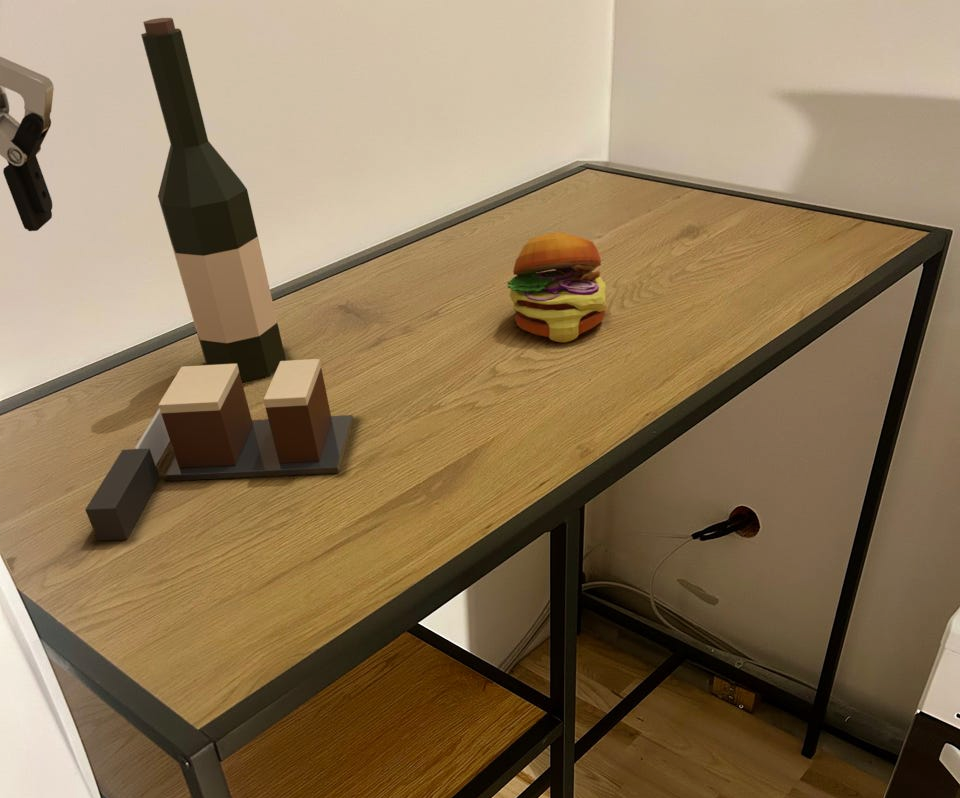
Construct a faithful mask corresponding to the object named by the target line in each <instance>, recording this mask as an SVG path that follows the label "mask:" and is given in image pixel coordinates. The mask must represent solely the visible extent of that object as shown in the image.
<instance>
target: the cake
mask: <svg viewBox="0 0 960 798" xmlns="http://www.w3.org/2000/svg"><path fill="white" fill-rule="evenodd" d="M245 392H246V391H245V389H244V385H243V382H242V381H241V377H240V373H239V369H238V365H237V364H220V365H206V364H205V365H203V364H202V365H188V366H187V365H186V366H184V365H183V366H180V368H179V370H178V372H177V374H175V376H174V379H173V380H172V382H171V383H170V384H169V386H168V388H167V390H166V391H165V393H164V395H163V396H162V398H161V400H160V401H159V403H158V405H157V406H158V409H160V412H161V413H162V418H163V421H164V424H165V427H166V430H167V433H168V436H169V439H170V442H169V443H170V445H171V448H172V450H173V453H174V457H176V460H177V463H178V466H179V468H191V467H212V466H233V465H236V463H237V461H238V458H239V456H240V454H241V451H242V449H243V447H244V445H245V442H246V440H247V438H248V436H249V433H250V431H251V429H252V426H253V423H252V420H253V419H252V415H251V412H250V408H249V404H248V400H247V396H246V393H245Z"/></svg>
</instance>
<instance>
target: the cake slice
mask: <svg viewBox="0 0 960 798" xmlns="http://www.w3.org/2000/svg"><path fill="white" fill-rule="evenodd" d="M263 402H264V407H265V411H266V415H267V419H268V420H269V424H270V428H271V432H272V436H273V440H274V444H275V448H276V452H277V456H278V460H279V463H295V462H315V461H320V458H321V454H322V451H323V448H324V445H325V442H326V438H327V435H328V432H329V429H330V426H331V422H332V418H331V416H332V413H331V408H330V403H329V399H328V394H327V389H326V384H325V379H324V373H323V369H322V363H321V360H320V358H312V359H311V358H309V359H308V358H307V359H293V360H286V361H280V363H279V365H278V367H277V370H276V371H274V375H273V376H272V379H271V381H270V384H269V386H268V388H267V391H266V393H265V395H264V398H263Z"/></svg>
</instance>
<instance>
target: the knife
mask: <svg viewBox="0 0 960 798" xmlns="http://www.w3.org/2000/svg"><path fill="white" fill-rule="evenodd" d="M170 443H171V442H170V439H169V436H168V433H167V430H166V427H165V424H164V421H163V418H162V413H161V412H160V409H159V408H158V409H157V411H156V413H155V414H154V416H153V417H152V419H151V421H150V422H149V424H148V426H147V427H146V429H145V430H144V432H143V434H142V436H141V437H140V439H139V440H138V442H137V444H136V445H135V447H134V448H132V449H131V448H130V449H122V450H121V451H120V452H119V455H118V456H117V457H116V459H115V461H114V462H113V464H112V466H111V467H110V469H109V471H108V472H107V474H106V476H105V477H104V479H103V481H102V482H101V483H100V485H99V487H98V488H97V490H96V491H95V493H94V494H93V496H92V497H91V500H90V501H89V503H88V504H87V505H86V507H85V509H84V510H85V513H86V515H87V518H88V520H89V522H90V525H91V527H92V528H93V532H94V535H95V536H96V538H97V539H96V540H97V541H99V542H101V541H103V542H104V541H106V542H107V541H124V540H125V541H126V540H128V538H129V537H130V535H131V533H132V531H133V529H134V528H135V526H136V524H137V522H138V520H139V519H140V517H141V514H142V513H143V511H144V509H145V507H146V506H147V504H148V502H149V500H150V498H151V496H152V494H153V493H154V490H155V489H156V487H157V486H158V483H159V481H160V480H161V477H160V474H159V472H158V469H157V465H158V463H159V461H160V460H161V458H162V456H163V454H164V453H165V451H166V449H167V447H168V446H169V444H170Z"/></svg>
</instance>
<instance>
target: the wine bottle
mask: <svg viewBox="0 0 960 798" xmlns="http://www.w3.org/2000/svg"><path fill="white" fill-rule="evenodd" d="M142 23H143V27H144V30H145V32H144V33H141V34H140V36H141V39H142V43H143V47H144V51H145V54H146V55H145V56H146V59H147V61H148V67H149V69H150V73H151V76H152V80H153V84H154V88H155V91H156V94H157V95H156V96H157V99H158V102H159V107H160V110H161V113H162V118H163V121H164V125H165V129H166V133H167V137H168V140H169V143H170V146H169V148H168V149H169V150H168V153H167V158H166V162H165V166H164V170H163V173H162V176H161V177H162V178H161V182H160V186H159V190H158V194H157V199H158V202H159V204H160V206H159V207H160V209H161V213H162V216H163V220H164V223H165V226H166V229H167V234H168V237H169V241H170V244H171V247H172V250H173V255H174V256H175V261H176V264H177V268H178V272H179V276H180V278H181V282H182V286H183V289H184V293H185V296H186V300H187V303H188V306H189V310H190V313H191V317H192V320H193V325H194V327H195V328H194V329H195V331H196V335H197V337H198V341H199V344H200V348H201V351H202V356H203V359H204V363H205V365H220V364H237V365H238V369H239V373H240V377H241V381H242V383H244V382H245V383H246V382H249V381H253V380H257V379H262V378H266V377H270V376H271V375H272V374H273V373H275V372H276V370H277V367H278V365H279V363H280V361H287V358H286V355H285V350H284V345H283V341H282V337H281V331H280V328H279V323H278V319H277V314H276V311H275V306H274V301H273V298H272V297H273V296H272V293H271V289H270V284H269V280H268V275H267V271H266V266H265V262H264V258H263V254H262V249H261V244H260V240H259V236H258V231H257V227H256V222H255V217H254V213H253V209H252V205H251V200H250V196H249V191H248V188H247V187H246V186H245V184H244V183H243V181H242V180H241V178H239V176H238V175H237V174H236V172H235V171H234V170H233V169H232V168H231V166H230V165H229V164H228V163H227V161H225V159H224V158H223V157H222V156H221V154H220V153H219V152H218V150H217V149H216V148H215V146H213V145H212V143H211V142H210V141H209V139H208V133H207V130H206V126H205V122H204V118H203V114H202V111H201V106H200V102H199V97H198V94H197V90H196V85H195V81H194V77H193V73H192V69H191V66H190V65H191V64H190V61H189V57H188V53H187V52H188V51H187V49H186V45H185V41H184V36H183V31H182V29H180V28H176V26H175V21H174V19H173V18H172V17H160V18H159V17H158V18H152V19H148V20H144V21H142Z"/></svg>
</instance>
